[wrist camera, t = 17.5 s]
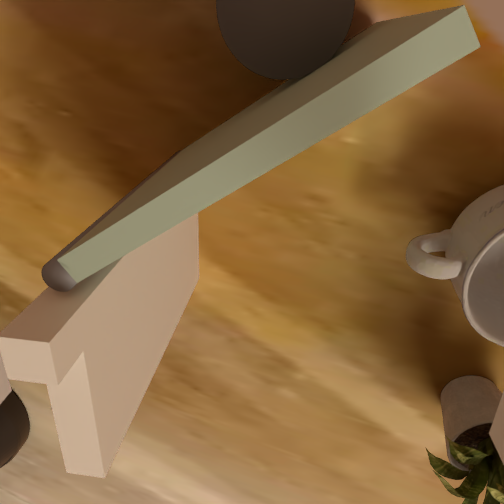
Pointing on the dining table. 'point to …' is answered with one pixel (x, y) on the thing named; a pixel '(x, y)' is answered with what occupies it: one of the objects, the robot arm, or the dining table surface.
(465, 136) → the dining table surface
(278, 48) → the dark brown cylinder
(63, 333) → the door frame
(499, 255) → the teacup
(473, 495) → the house plant
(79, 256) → the door
